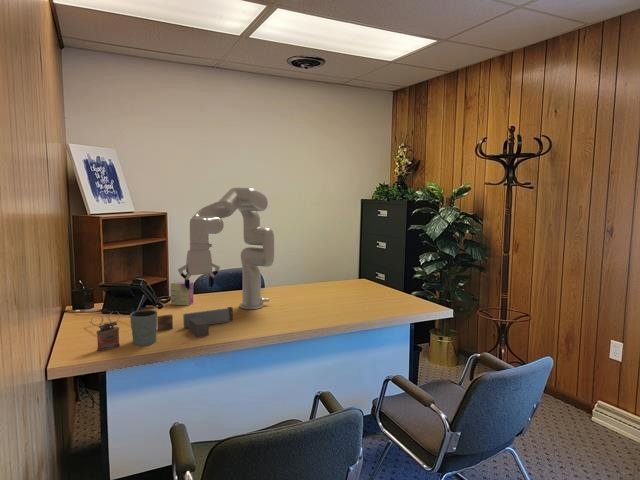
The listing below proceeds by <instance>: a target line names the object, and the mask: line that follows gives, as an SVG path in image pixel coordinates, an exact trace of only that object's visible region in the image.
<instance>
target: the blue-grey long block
mask: <svg viewBox="0 0 640 480" xmlns="http://www.w3.org/2000/svg"><path fill="white" fill-rule="evenodd" d="M182 315H183V319H182V320H183V328H185V329H186V328H189V319H191V318H198V317H201V318H202V319H203V320H205V321H206V322H208V323H209V325H215V324H221V323H222V324H223V323H229V322H230V321H229V309H228V308H219V309H211V310H210V309H209V310H202V311H194V312H187V313H186V312H185V313H183V314H182Z"/></svg>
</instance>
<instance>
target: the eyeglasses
mask: <svg viewBox="0 0 640 480" xmlns="http://www.w3.org/2000/svg"><path fill="white" fill-rule="evenodd" d="M116 312H117V314H118V315H119V317H118V319H117V320H116V322H118V321H119V320H120V318H121V317H126V318H129V319H130V316H127V315H124V314H120V313H119V311H116ZM111 314H112V312H110V313H109V315H107V314H104V315H103V316H101V315H99V314H98V315H97V314H96V315H94V317H97V316H99V317H100V319H101V320H100V321H101V322H100V323H98V325H97V324H95V323H93V321H92V320H93V318H94V317H91V320H90V321H88V323H89V324H91V325H92V326H94V327H97V328H99V329H100V325H103V322H104V320H105V319H104V316H105V317H107V320H108V321H109V323H111V322H113V321H111V318H110V316H111Z"/></svg>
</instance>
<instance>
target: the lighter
mask: <svg viewBox="0 0 640 480" xmlns="http://www.w3.org/2000/svg"><path fill="white" fill-rule="evenodd" d="M117 325H118V321H112V322H104V324H103V323H102V324H101V325H99V326H100V328H99V330H96V334H97V339H96V341H97V348H96V350H97V352H105V351H110V350H111V351H112V350H113V349H116V348H117V349H118V348H120V346H121V345H120V332H119V331H120V326H117Z"/></svg>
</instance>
